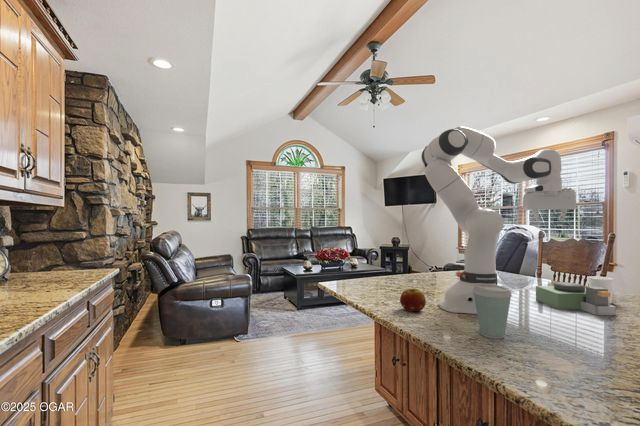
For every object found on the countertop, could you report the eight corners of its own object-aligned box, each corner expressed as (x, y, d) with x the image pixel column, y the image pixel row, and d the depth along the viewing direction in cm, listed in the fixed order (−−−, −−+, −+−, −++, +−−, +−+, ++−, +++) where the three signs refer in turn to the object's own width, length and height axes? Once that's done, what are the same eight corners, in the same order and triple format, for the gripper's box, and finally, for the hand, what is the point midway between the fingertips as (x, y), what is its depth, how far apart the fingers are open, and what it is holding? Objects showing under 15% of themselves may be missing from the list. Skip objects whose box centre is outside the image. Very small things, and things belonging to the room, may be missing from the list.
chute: (586, 310, 123) (585, 286, 123) (598, 310, 123) (598, 286, 123) (599, 315, 116) (599, 290, 117) (613, 315, 116) (612, 290, 116)
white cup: (603, 299, 139) (603, 276, 139) (619, 304, 131) (618, 279, 131) (584, 299, 139) (583, 276, 140) (598, 304, 132) (597, 279, 132)
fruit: (398, 312, 122) (398, 291, 122) (401, 306, 130) (401, 286, 131) (425, 314, 118) (424, 293, 119) (426, 308, 127) (426, 288, 127)
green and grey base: (571, 314, 117) (570, 292, 118) (535, 299, 139) (535, 281, 139) (623, 315, 116) (623, 292, 116) (579, 300, 138) (579, 281, 138)
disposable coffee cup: (505, 330, 102) (504, 282, 102) (519, 343, 91) (518, 290, 91) (469, 328, 104) (468, 281, 104) (478, 340, 93) (477, 288, 93)
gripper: (569, 188, 140) (570, 220, 139) (520, 189, 141) (520, 220, 141) (580, 186, 133) (580, 220, 133) (528, 187, 135) (529, 220, 134)
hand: (549, 220), depth 137 cm, fingers open, 8 cm apart
